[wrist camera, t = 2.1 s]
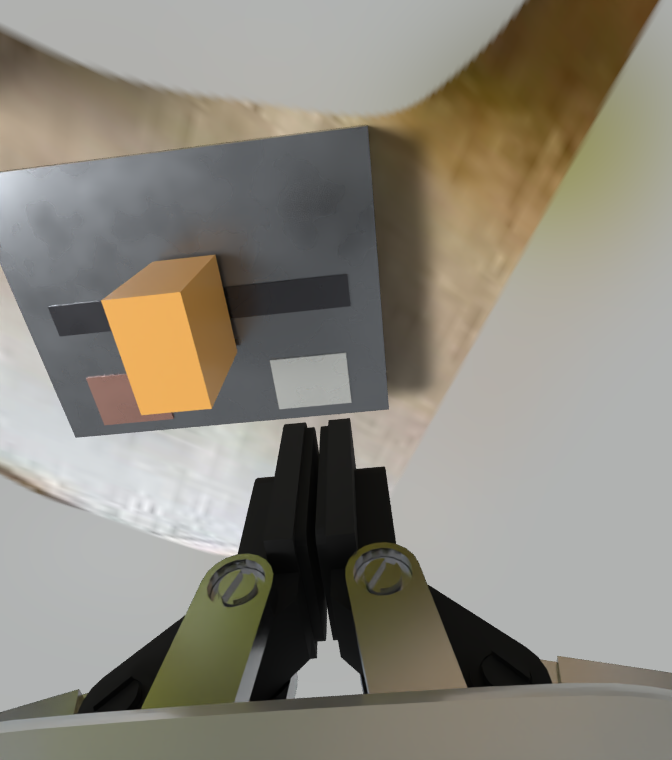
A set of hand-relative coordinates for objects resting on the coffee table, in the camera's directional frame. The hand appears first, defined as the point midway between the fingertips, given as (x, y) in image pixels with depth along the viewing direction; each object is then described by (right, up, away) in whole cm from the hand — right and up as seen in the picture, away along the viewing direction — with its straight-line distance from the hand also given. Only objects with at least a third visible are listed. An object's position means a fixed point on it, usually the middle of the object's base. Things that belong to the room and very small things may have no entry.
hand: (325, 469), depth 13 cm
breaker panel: (-7, +7, +15) cm, 18 cm away
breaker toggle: (-7, +6, +12) cm, 15 cm away
